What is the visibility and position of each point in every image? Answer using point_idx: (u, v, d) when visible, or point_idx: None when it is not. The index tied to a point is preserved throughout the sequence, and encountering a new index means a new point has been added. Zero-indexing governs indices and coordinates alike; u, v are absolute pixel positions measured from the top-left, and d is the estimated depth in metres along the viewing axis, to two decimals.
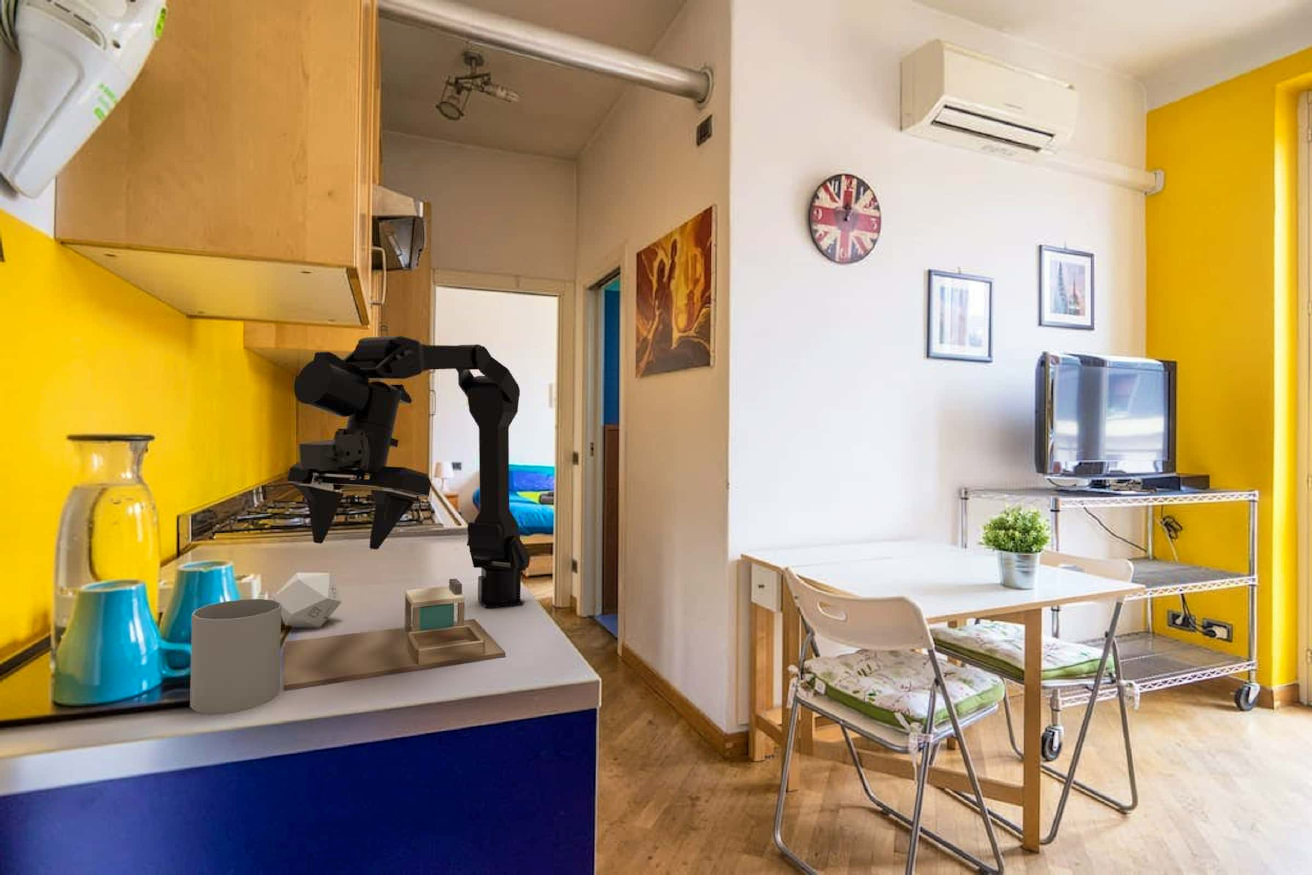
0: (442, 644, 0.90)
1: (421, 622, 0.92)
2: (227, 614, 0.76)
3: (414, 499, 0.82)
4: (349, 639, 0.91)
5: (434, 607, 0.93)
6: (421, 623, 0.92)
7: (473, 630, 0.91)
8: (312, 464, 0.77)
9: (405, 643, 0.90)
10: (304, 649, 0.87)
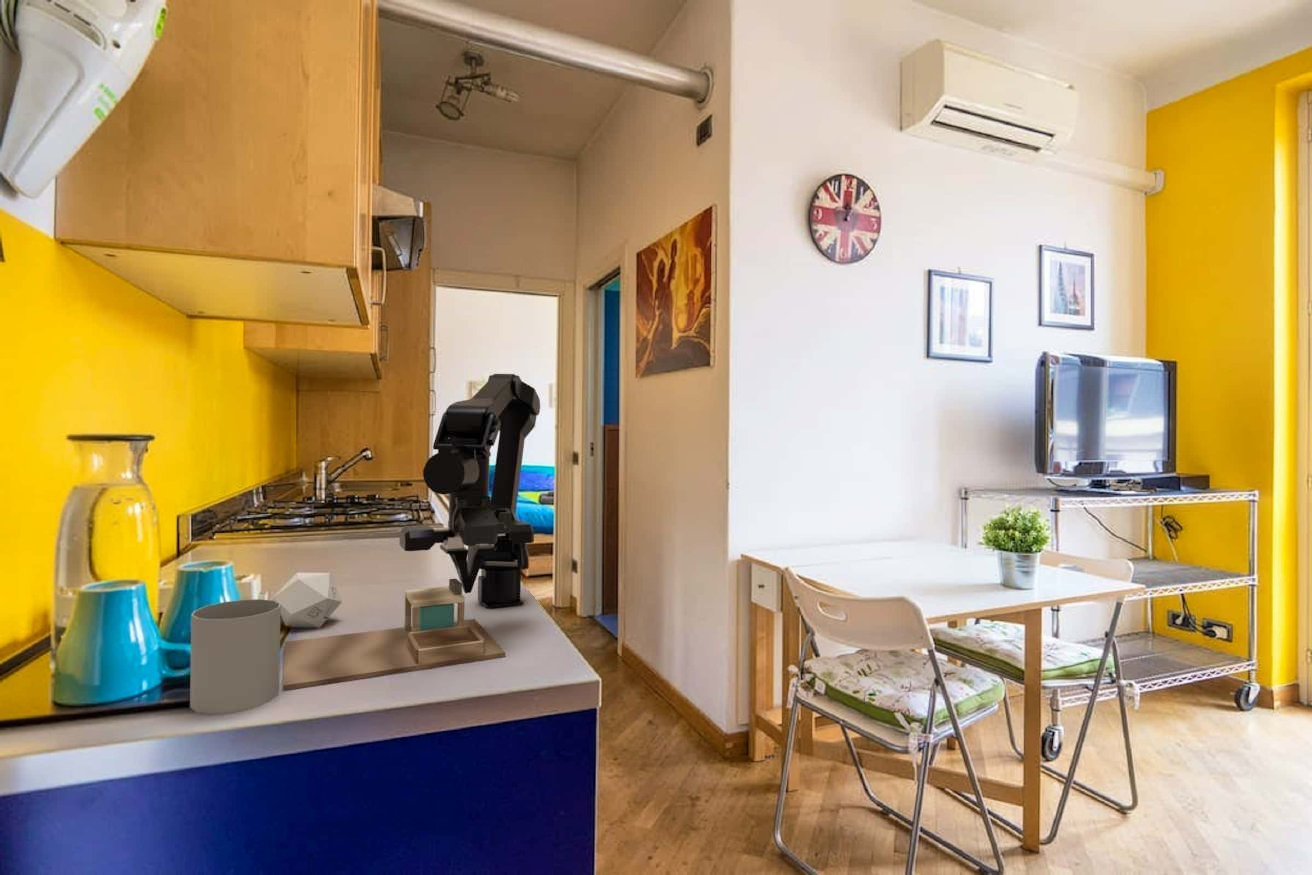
0: (442, 644, 0.90)
1: (421, 622, 0.92)
2: (226, 614, 0.76)
3: None
4: (349, 639, 0.91)
5: (434, 607, 0.93)
6: (421, 623, 0.92)
7: (473, 630, 0.91)
8: (483, 540, 0.91)
9: (405, 643, 0.90)
10: (304, 649, 0.87)
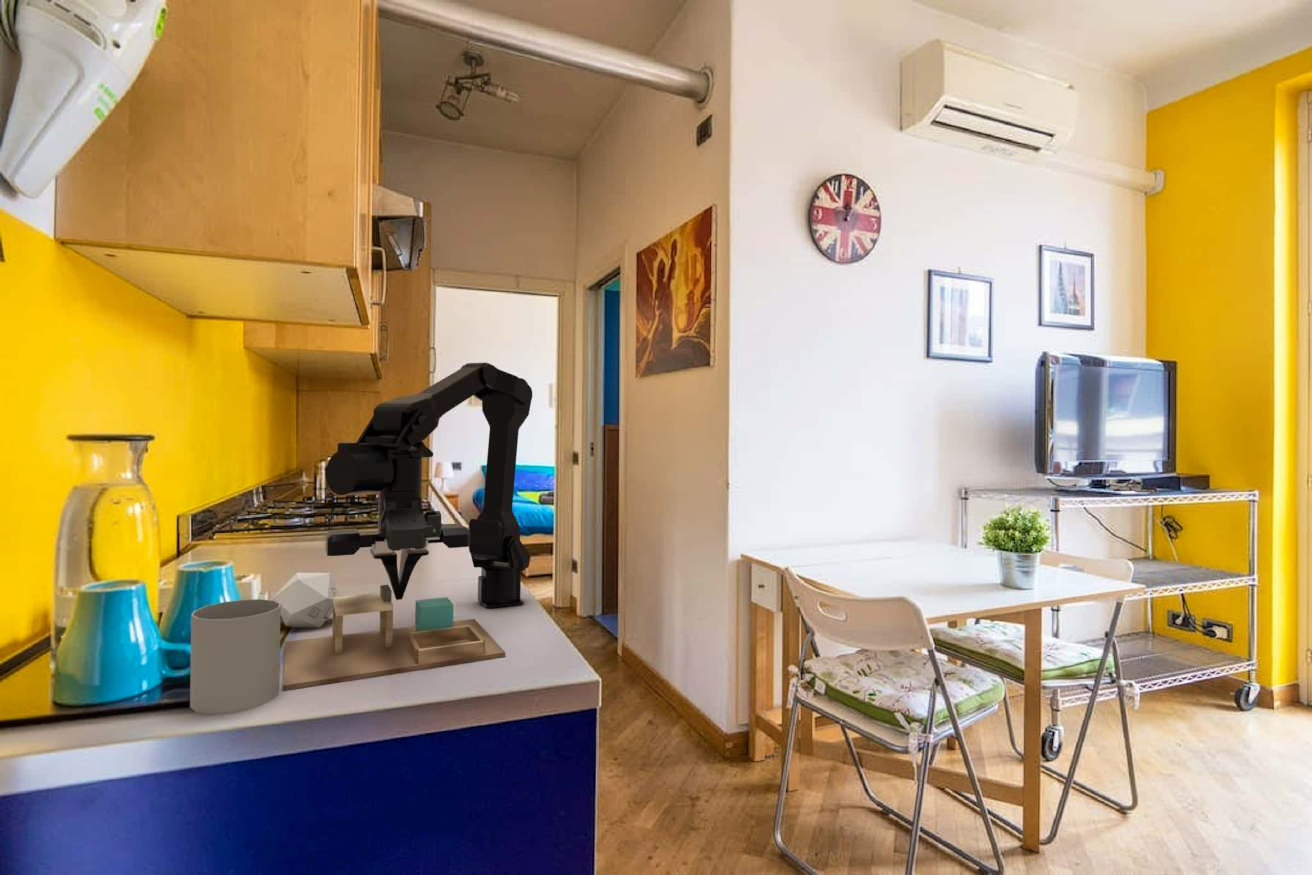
0: (442, 644, 0.90)
1: (421, 622, 0.92)
2: (226, 614, 0.76)
3: None
4: (349, 639, 0.91)
5: (434, 607, 0.93)
6: (421, 623, 0.92)
7: (473, 630, 0.91)
8: (410, 545, 0.86)
9: (405, 643, 0.90)
10: (304, 649, 0.87)
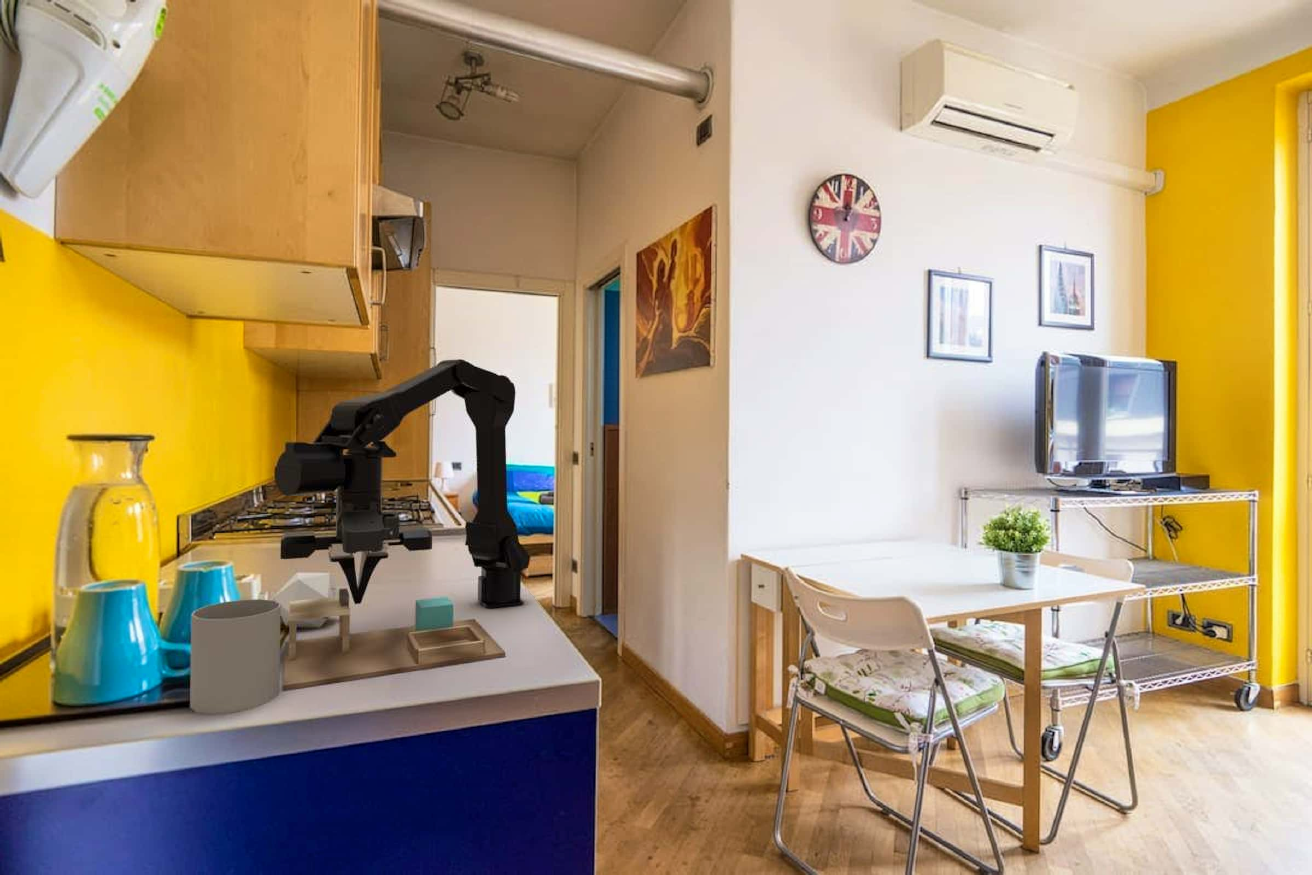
0: (442, 644, 0.90)
1: (421, 622, 0.92)
2: (226, 614, 0.76)
3: None
4: (349, 639, 0.91)
5: (434, 607, 0.93)
6: (421, 623, 0.92)
7: (473, 630, 0.91)
8: (365, 548, 0.83)
9: (405, 643, 0.90)
10: (304, 649, 0.87)
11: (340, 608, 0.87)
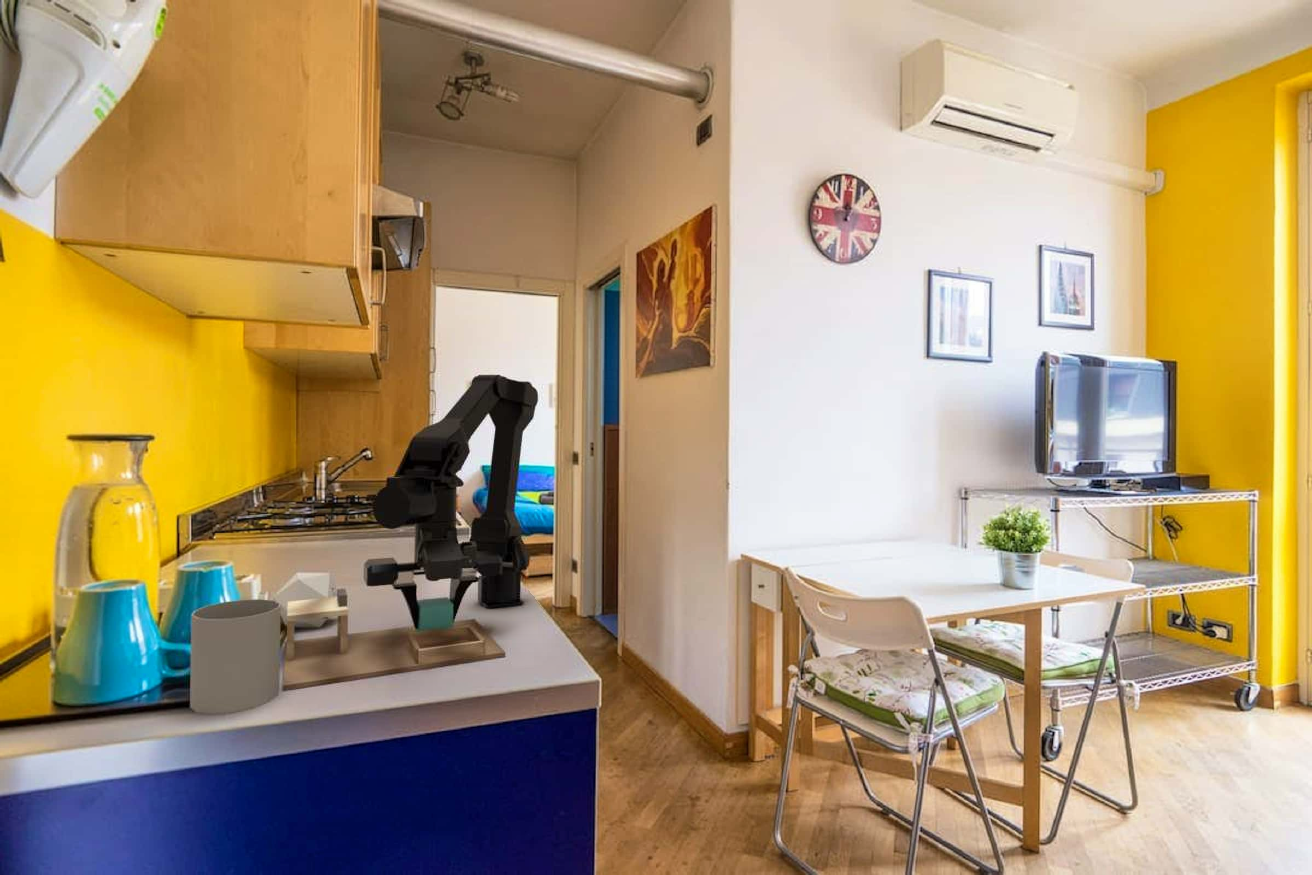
0: (442, 644, 0.90)
1: (421, 622, 0.92)
2: (226, 614, 0.76)
3: None
4: (349, 639, 0.91)
5: (434, 607, 0.93)
6: (421, 623, 0.92)
7: (473, 630, 0.91)
8: (447, 575, 0.89)
9: (405, 643, 0.90)
10: (304, 649, 0.87)
11: (338, 608, 0.86)
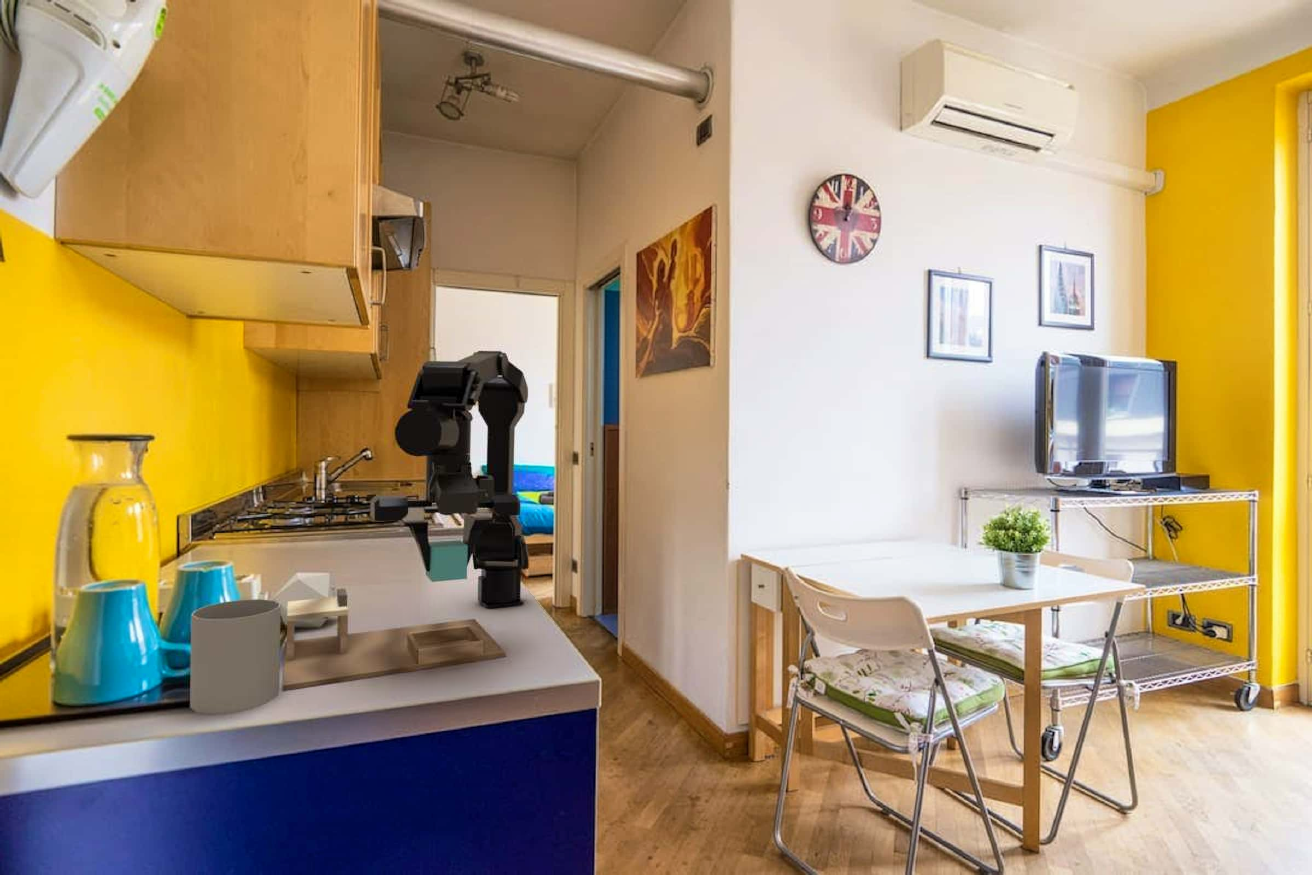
0: (442, 644, 0.90)
1: (433, 563, 0.85)
2: (226, 614, 0.76)
3: None
4: (349, 639, 0.91)
5: (447, 547, 0.86)
6: (433, 564, 0.85)
7: (473, 630, 0.91)
8: (461, 510, 0.81)
9: (405, 643, 0.90)
10: (304, 649, 0.87)
11: (338, 608, 0.86)
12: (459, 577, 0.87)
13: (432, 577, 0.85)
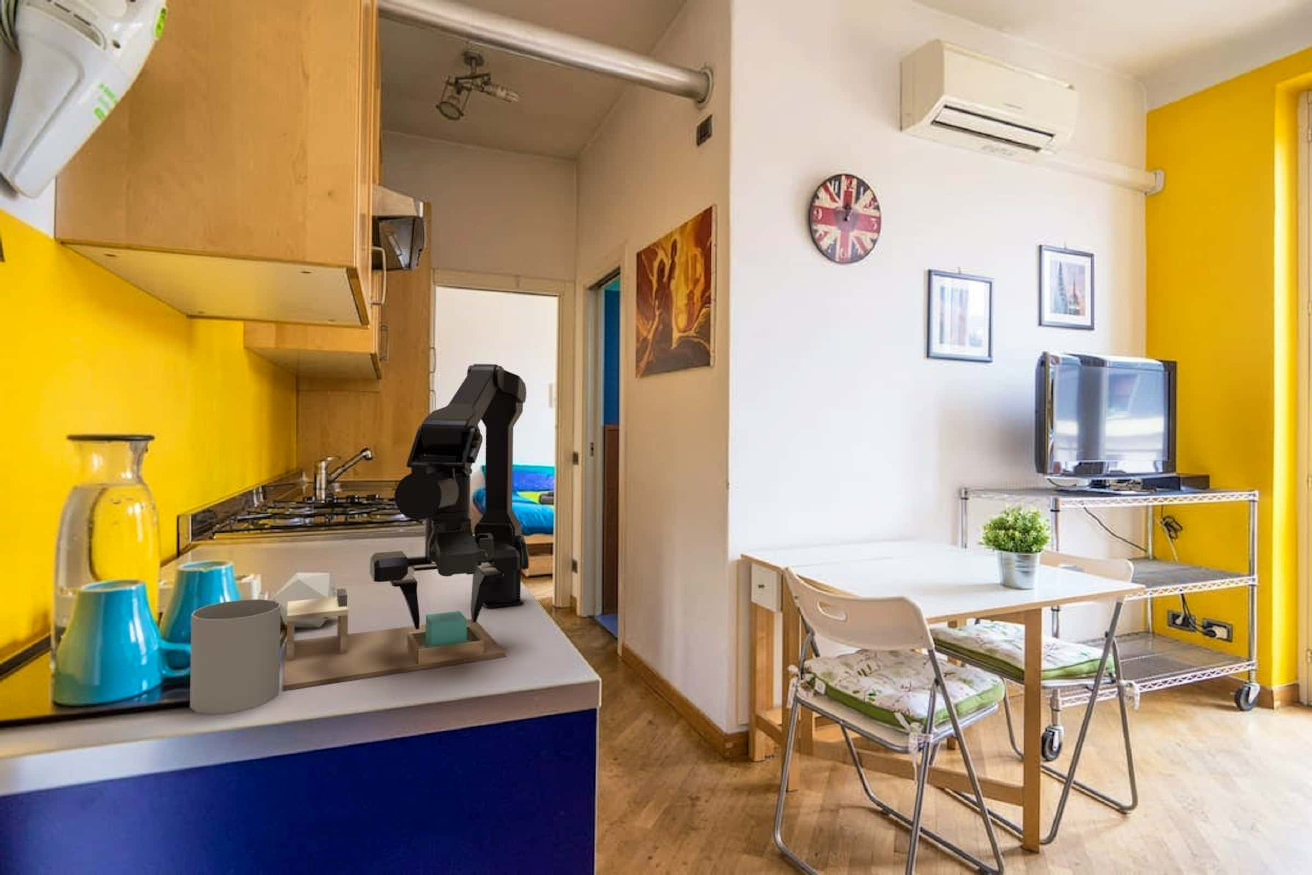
0: None
1: (432, 639, 0.85)
2: (226, 614, 0.76)
3: None
4: (349, 639, 0.91)
5: (446, 623, 0.86)
6: (432, 640, 0.85)
7: (473, 630, 0.91)
8: (461, 570, 0.81)
9: (405, 643, 0.90)
10: (304, 649, 0.87)
11: (338, 608, 0.86)
12: None
13: None
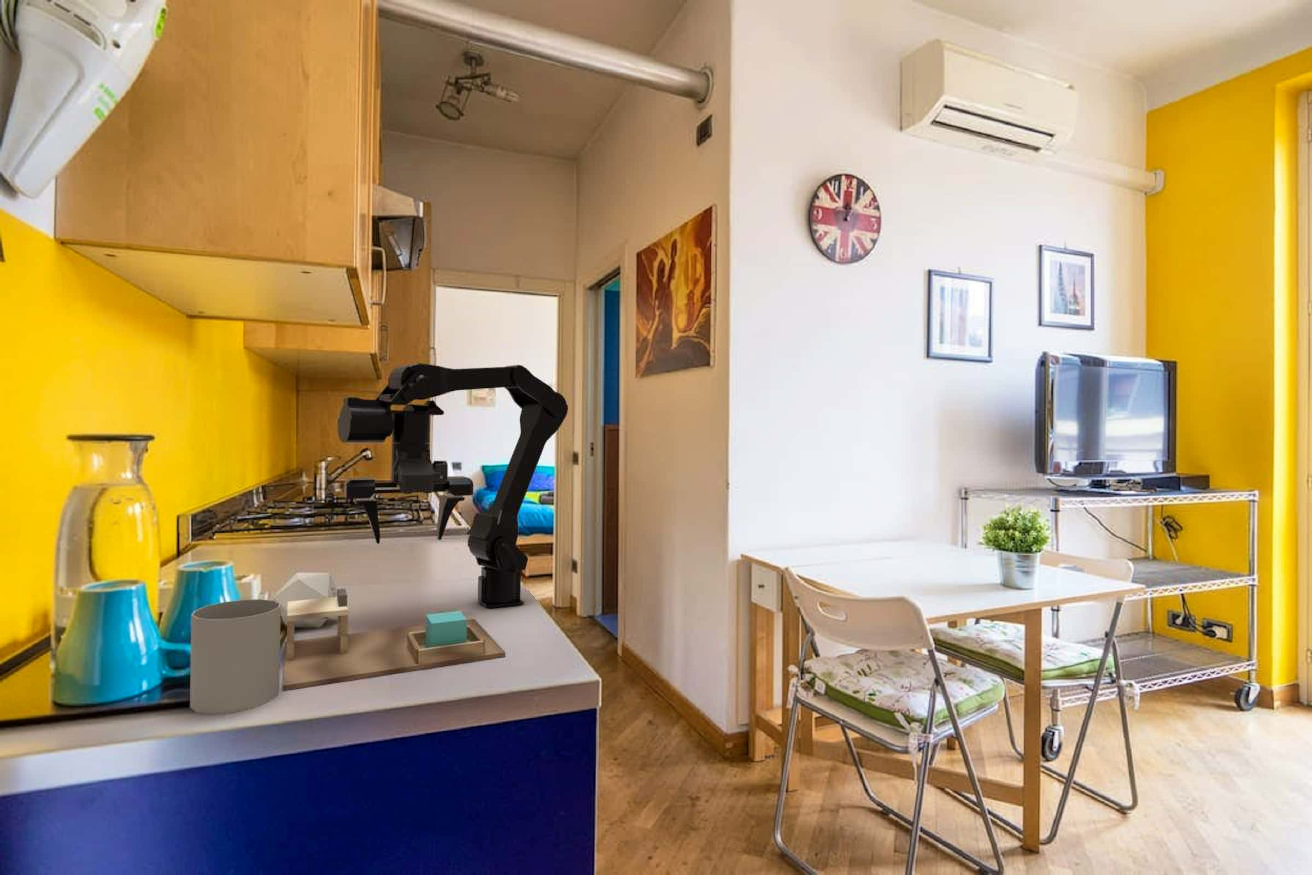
0: None
1: (432, 639, 0.85)
2: (226, 614, 0.76)
3: None
4: (349, 639, 0.91)
5: (446, 623, 0.86)
6: (432, 640, 0.85)
7: (473, 630, 0.91)
8: (419, 489, 0.97)
9: (405, 643, 0.90)
10: (304, 649, 0.87)
11: (338, 608, 0.86)
12: None
13: None
